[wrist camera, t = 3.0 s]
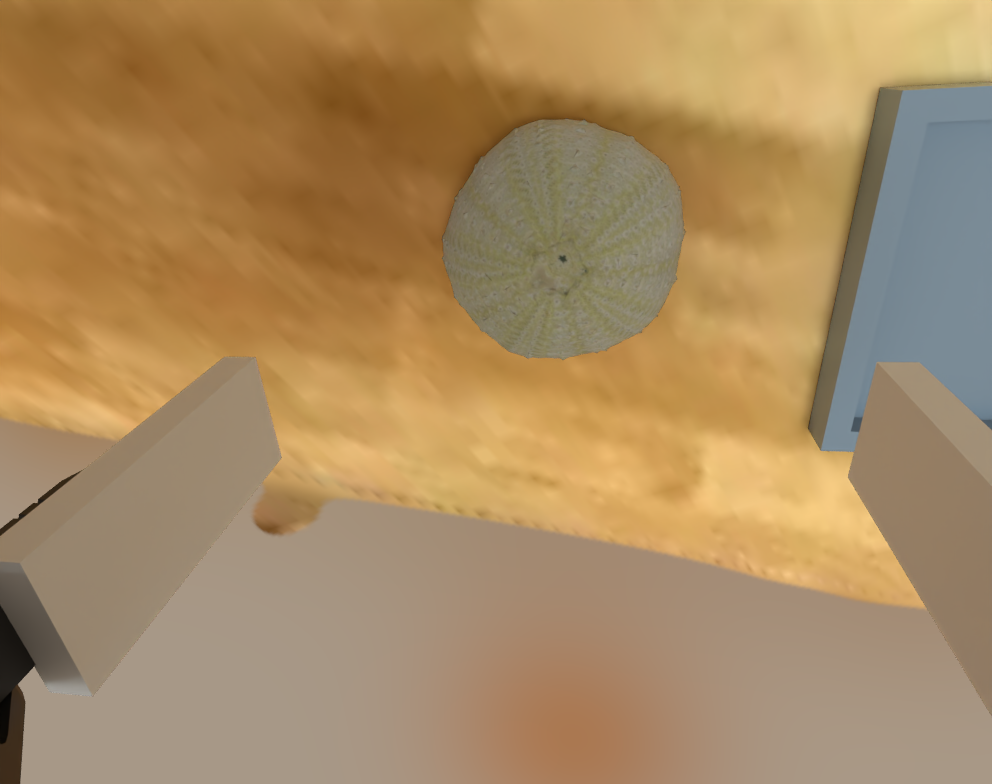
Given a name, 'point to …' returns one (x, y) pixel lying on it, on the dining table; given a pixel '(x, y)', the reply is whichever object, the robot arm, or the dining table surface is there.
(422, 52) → the dining table surface
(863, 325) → the tray
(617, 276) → the sea urchin shell
